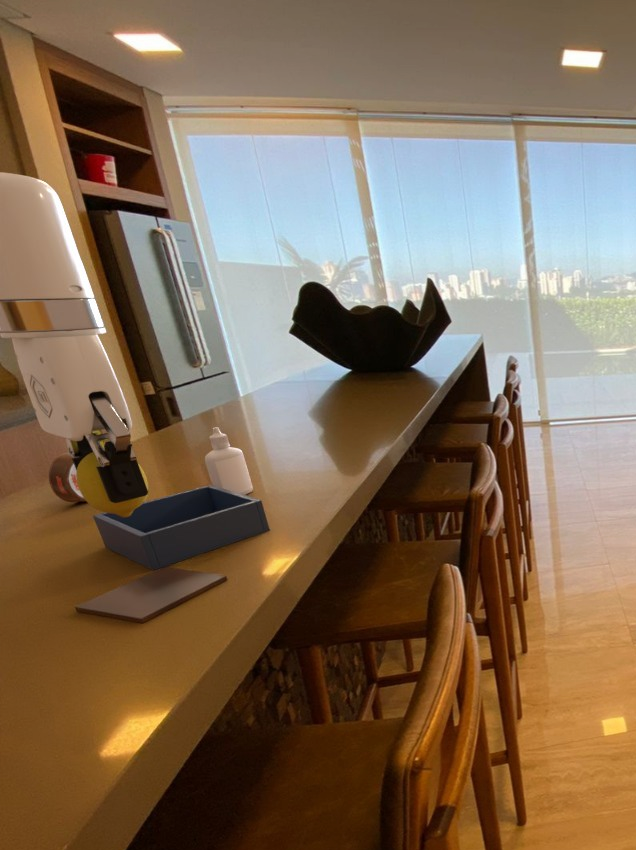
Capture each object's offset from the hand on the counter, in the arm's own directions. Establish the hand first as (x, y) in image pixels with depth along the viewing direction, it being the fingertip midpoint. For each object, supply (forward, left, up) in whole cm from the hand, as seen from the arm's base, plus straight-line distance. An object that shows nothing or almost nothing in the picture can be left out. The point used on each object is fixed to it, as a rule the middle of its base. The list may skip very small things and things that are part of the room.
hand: (116, 492), depth 62 cm
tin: (+12, +51, -13) cm, 54 cm away
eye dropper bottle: (+23, +29, -13) cm, 39 cm away
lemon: (0, 0, -3) cm, 3 cm away
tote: (+10, +15, -13) cm, 22 cm away
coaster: (0, 0, -13) cm, 13 cm away
